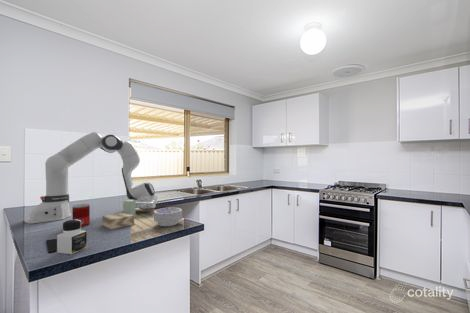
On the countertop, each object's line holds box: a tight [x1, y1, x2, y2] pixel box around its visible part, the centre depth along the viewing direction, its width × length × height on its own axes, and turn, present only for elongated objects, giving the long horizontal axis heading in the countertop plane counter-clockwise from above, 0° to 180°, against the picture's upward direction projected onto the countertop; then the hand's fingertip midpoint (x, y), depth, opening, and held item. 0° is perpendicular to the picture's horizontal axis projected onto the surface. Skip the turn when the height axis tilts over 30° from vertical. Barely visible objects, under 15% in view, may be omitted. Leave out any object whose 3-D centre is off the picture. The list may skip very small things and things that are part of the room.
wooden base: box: [102, 212, 135, 230], centre depth 131 cm, size 12×12×5 cm
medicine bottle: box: [56, 219, 88, 255], centre depth 95 cm, size 7×7×12 cm
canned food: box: [71, 203, 91, 228], centre depth 131 cm, size 8×8×11 cm
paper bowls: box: [153, 206, 183, 227], centre depth 132 cm, size 15×15×8 cm
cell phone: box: [45, 237, 57, 254], centre depth 102 cm, size 9×18×1 cm, turn 41°
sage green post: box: [122, 199, 136, 219], centre depth 145 cm, size 5×5×11 cm
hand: (133, 207), depth 150 cm, fingers open, 8 cm apart
